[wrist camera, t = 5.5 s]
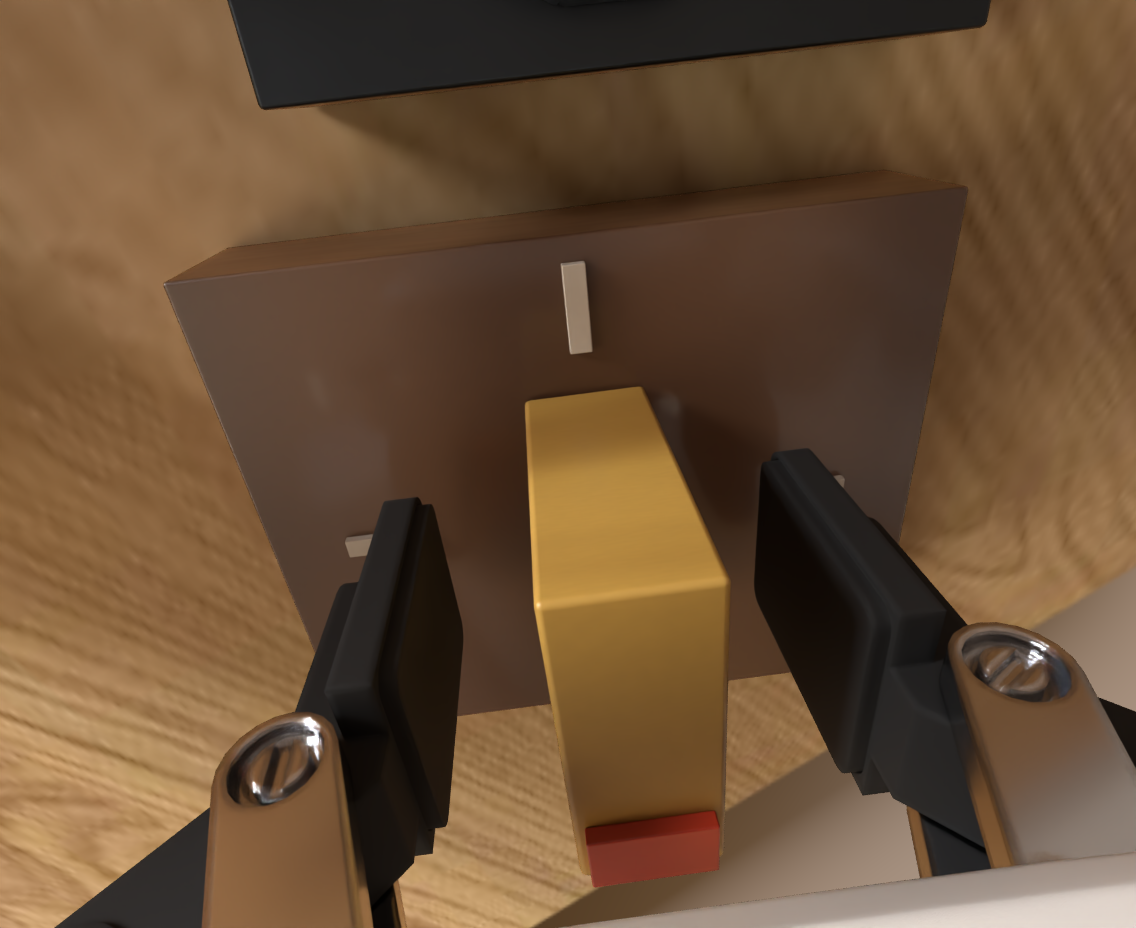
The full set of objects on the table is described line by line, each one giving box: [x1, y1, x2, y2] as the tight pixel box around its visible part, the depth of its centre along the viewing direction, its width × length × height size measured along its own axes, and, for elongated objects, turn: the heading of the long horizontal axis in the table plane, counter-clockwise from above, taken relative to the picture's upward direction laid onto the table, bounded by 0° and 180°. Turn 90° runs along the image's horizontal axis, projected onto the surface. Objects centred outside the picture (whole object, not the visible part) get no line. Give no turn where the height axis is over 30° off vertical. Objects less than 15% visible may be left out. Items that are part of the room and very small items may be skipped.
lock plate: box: [164, 170, 968, 716], centre depth 13 cm, size 12×10×3 cm
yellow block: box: [525, 387, 731, 887], centre depth 10 cm, size 5×2×5 cm, turn 6°
